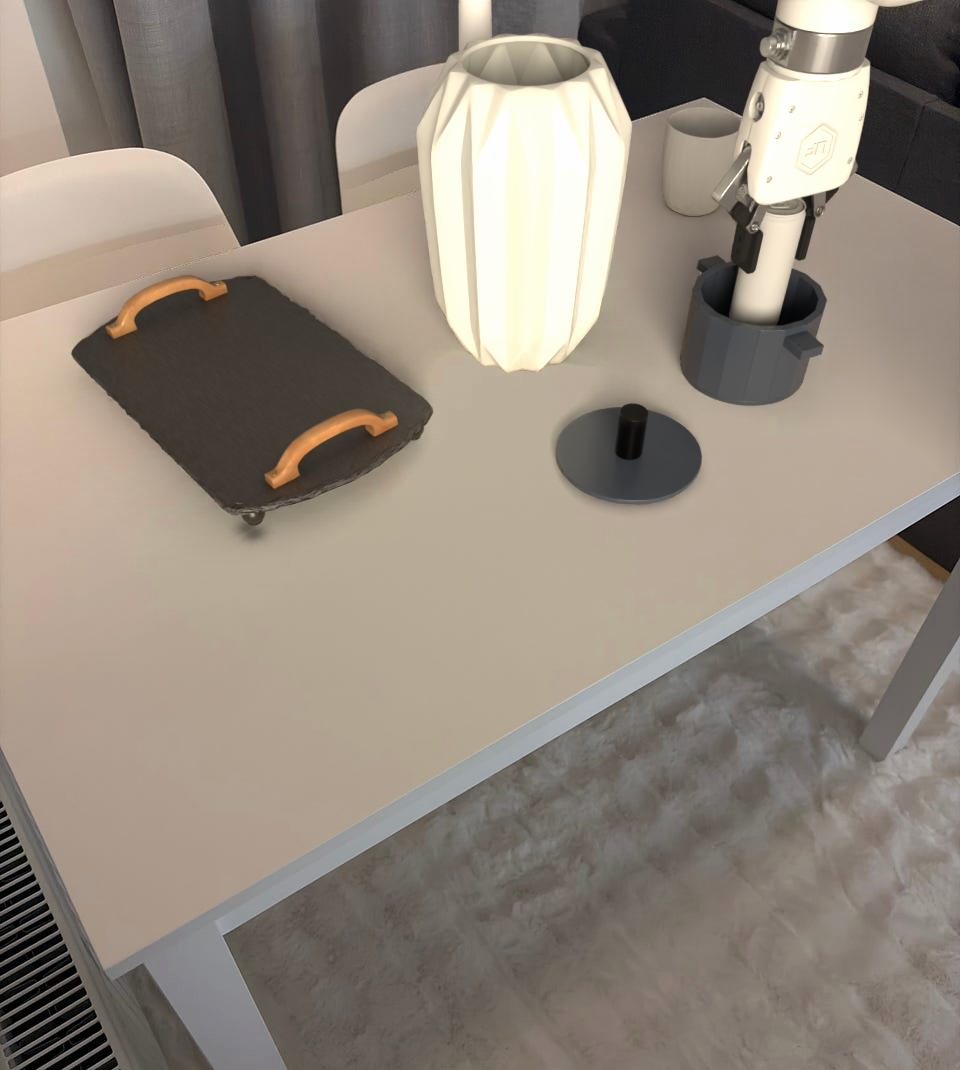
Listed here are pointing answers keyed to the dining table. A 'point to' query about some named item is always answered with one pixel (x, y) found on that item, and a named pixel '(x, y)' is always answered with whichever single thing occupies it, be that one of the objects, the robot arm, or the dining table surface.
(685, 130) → the mug
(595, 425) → the lid
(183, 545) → the dining table surface
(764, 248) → the beverage can
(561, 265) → the vase
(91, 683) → the dining table surface
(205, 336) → the serving tray
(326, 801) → the dining table surface
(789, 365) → the pot
